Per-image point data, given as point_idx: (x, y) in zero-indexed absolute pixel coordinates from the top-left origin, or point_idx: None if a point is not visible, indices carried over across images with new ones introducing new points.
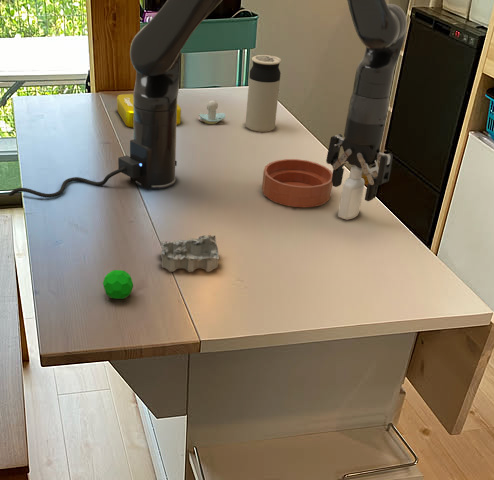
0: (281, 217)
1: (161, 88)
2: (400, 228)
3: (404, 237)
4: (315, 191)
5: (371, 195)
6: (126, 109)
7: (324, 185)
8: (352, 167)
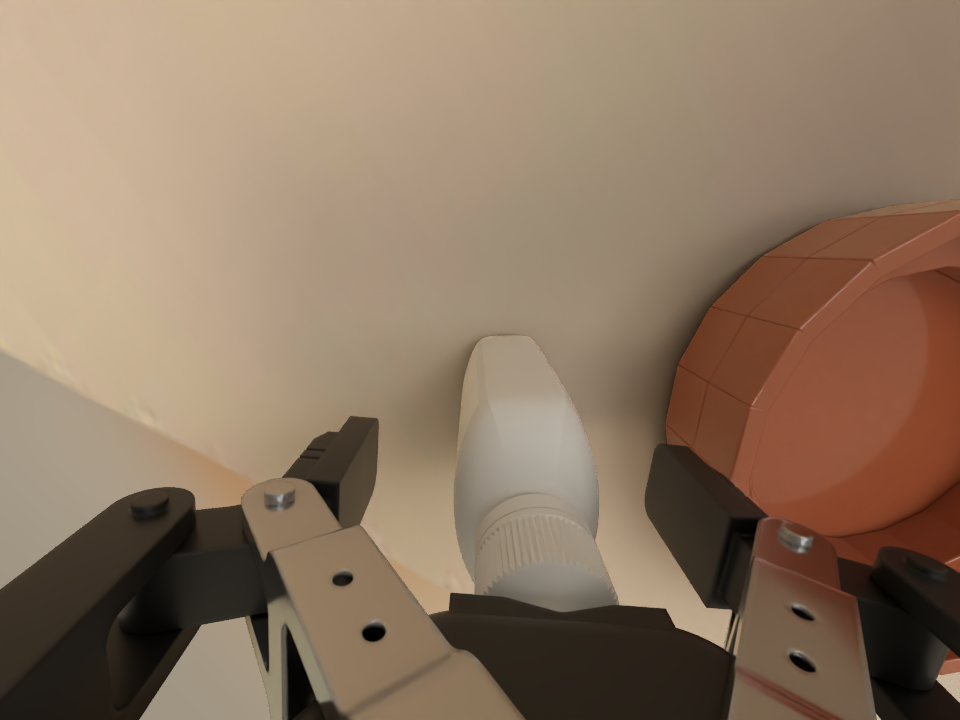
0: (783, 75)
1: None
2: (239, 470)
3: (164, 402)
4: (754, 350)
5: (316, 446)
6: None
7: (739, 432)
8: (591, 590)
